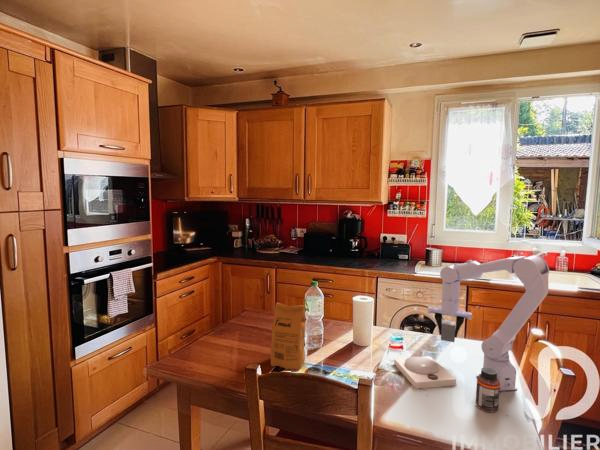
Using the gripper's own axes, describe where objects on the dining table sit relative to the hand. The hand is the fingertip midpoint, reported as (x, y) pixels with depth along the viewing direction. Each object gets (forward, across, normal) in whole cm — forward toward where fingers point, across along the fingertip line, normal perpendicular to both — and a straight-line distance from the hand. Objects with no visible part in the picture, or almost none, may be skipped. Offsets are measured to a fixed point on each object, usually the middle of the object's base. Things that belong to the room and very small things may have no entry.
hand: (448, 334), depth 130 cm
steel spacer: (+1, 0, 0) cm, 1 cm away
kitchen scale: (+10, +7, +12) cm, 18 cm away
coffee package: (+11, +52, +26) cm, 59 cm away
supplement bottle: (+11, -12, +24) cm, 29 cm away
